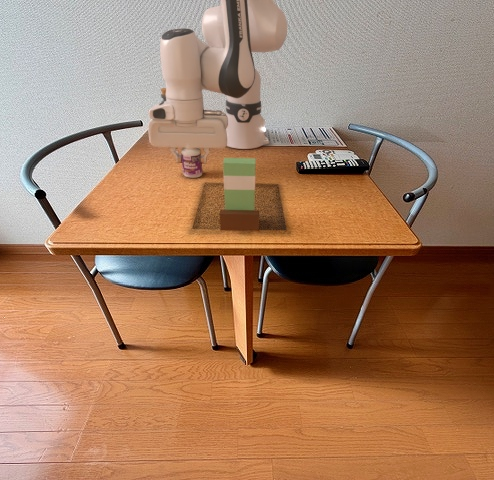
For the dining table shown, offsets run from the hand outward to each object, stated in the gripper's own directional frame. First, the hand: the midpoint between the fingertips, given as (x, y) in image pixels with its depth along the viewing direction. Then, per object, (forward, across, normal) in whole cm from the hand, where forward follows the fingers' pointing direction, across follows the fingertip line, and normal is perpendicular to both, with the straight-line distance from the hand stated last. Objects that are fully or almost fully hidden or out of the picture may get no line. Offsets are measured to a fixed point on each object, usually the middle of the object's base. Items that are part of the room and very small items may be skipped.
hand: (191, 162), depth 80 cm
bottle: (+4, +14, -40) cm, 43 cm away
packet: (+3, -14, +25) cm, 29 cm away
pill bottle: (+4, 0, 0) cm, 4 cm away
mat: (+4, -14, +17) cm, 22 cm away
